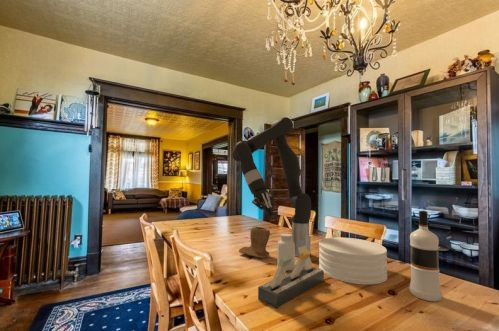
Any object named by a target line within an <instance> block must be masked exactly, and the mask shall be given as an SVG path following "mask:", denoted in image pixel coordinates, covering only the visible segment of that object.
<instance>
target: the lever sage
mask: <svg viewBox="0 0 499 331" xmlns="http://www.w3.org/2000/svg"><path fill="white" fill-rule="evenodd" d="M291 260H292V258H291V257H290V256H286V257H284V258H281V260H280V262H279V266H277V267H276V271H275V273H274V275H273V279H272V280H271V281H272V282H271V285H270V289H272V288H275V287H277V286H279V285H280V284H281V282H282V279H283V277H284V275H286V273H287V271H286V270H287V268H288V265H289V264H290V262H291Z"/></svg>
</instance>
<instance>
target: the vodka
mask: <svg viewBox="0 0 499 331" xmlns="http://www.w3.org/2000/svg"><path fill="white" fill-rule="evenodd" d="M428 216H429V215H428V211H426V210H419V211H418V228H417V229H416V230H414V231H412V232H411V233H410V235H409V242H410V243H409V245H410V273H411V274H410V283H409V287H408V288H409V292H410V294H412V296H414V297H416V298H417V299H420V300H423V301H427V302H434V303H435V302H440V301H441V300H442V299H443V293H442V290H441V284H440V269H439V266H440V265H439V249H440V247H439V242H440V240H439V237H438V236H437V234H435V233H433V231H430V230H429V227H428V226H429V218H428Z"/></svg>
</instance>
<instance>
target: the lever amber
mask: <svg viewBox="0 0 499 331" xmlns="http://www.w3.org/2000/svg"><path fill="white" fill-rule="evenodd" d="M311 254H312V252H311V250H310V251H309V250H307V251H305V252H302V253H301V255H300V257H298V260H297V262H295V263H296V264H295V267H294V269H293V270H291V272H292V273H291V275H290V278H289V279H290V280H291V279H293V278H295V277H297V276H299V274H300V272H301V270H302V268H303V267H304V264H305V263H306V261H307V259H308V258H309V257H310V256H311Z"/></svg>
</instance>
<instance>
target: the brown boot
mask: <svg viewBox="0 0 499 331" xmlns="http://www.w3.org/2000/svg"><path fill="white" fill-rule="evenodd" d="M270 231H271V230H270V229H269V228H266V227H262V226H261V227H260V226H255V225H254V226H252V227H251V229H250V235H249V236H250V246H243V247H240V248H239V250H238V252H239V253H241V254H242V255H243V254H244V255H247V256H250V257H251V256H252V257H255V258H259V259H260V258H261V259H263V258H267V257H269V256H270V252H269V251H267V245H268V242H269V240H270V234H271V232H270Z"/></svg>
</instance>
